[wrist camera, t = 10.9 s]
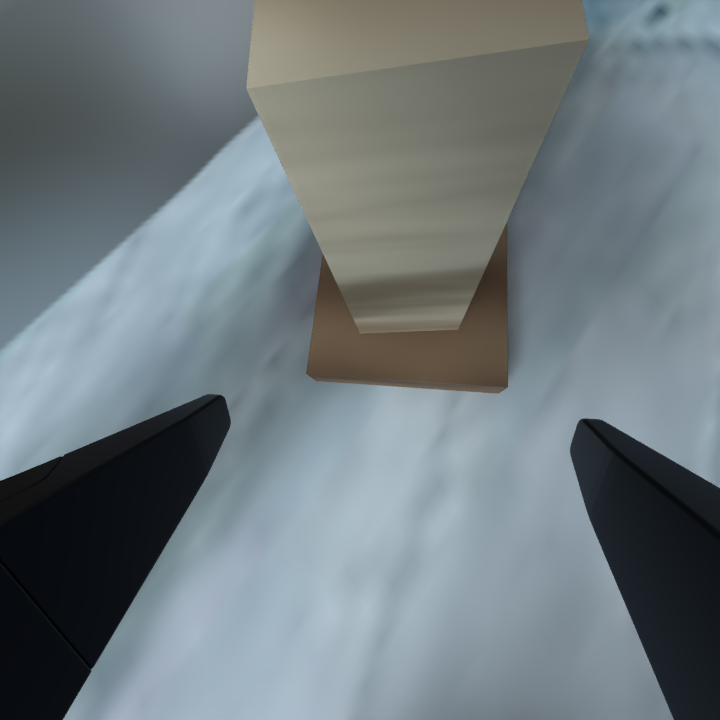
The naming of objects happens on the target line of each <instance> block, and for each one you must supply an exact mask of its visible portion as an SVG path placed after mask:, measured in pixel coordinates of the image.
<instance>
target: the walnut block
mask: <svg viewBox="0 0 720 720" xmlns="http://www.w3.org/2000/svg"><path fill="white" fill-rule="evenodd" d="M306 374H307V375H309V376H310V377H312V378H313V379H314V380H316V381H325V382H340V383H354V384H369V385H383V386H398V387H412V388H427V389H441V390H456V391H471V392H485V393H500V392H501V391H503V390H504V389H506V388H507V387H508V341H507V223H506V225H505V227H504V229H503V231H502V234H501V236H500V238H499V240H498V242H497V245H496V247H495V249H494V251H493V253H492V256H491V258H490V260H489V262H488V265H487V267H486V269H485V271H484V273H483V276H482V278H481V280H480V282H479V284H478V287H477V289H476V291H475V293H474V296H473V298H472V300H471V302H470V304H469V307H468V309H467V311H466V313H465V315H464V318H463V320H462V322H461V324H460V326H459V329H458V330H439V331H413V332H388V333H362V334H360V332H359V330H358V328H357V326H356V324H355V322H354V319H353V317H352V315H351V313H350V311H349V309H348V306H347V304H346V302H345V300H344V298H343V296H342V294H341V291H340V289H339V287H338V285H337V283H336V281H335V278H334V276H333V274H332V272H331V270H330V268H329V266H328V263H327V261H326V259H325V257H324V255H323V256H322V264H321V271H320V278H319V285H318V293H317V300H316V307H315V314H314V322H313V329H312V336H311V343H310V351H309V358H308V365H307V372H306Z"/></svg>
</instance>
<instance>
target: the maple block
mask: <svg viewBox="0 0 720 720" xmlns="http://www.w3.org/2000/svg"><path fill="white" fill-rule="evenodd" d="M588 41H589V35H588V30H587V25H586V19H585V14H584V9H583V4H582V0H255V5H254V16H253V26H252V36H251V47H250V56H249V57H250V58H249V67H248V77H247V88H246V89H247V91H248V93H249V95H250V97H251V100H252V101H253V104H254V106H255V108H256V110H257V113H258V115H259V117H260V119H261V121H262V123H263V125H264V128H265V130H266V132H267V134H268V136H269V138H270V141H271V143H272V145H273V147H274V149H275V151H276V153H277V156H278V158H279V160H280V162H281V164H282V166H283V169H284V171H285V173H286V175H287V177H288V179H289V181H290V184H291V186H292V188H293V190H294V192H295V194H296V197H297V199H298V201H299V203H300V205H301V207H302V209H303V212H304V214H305V216H306V218H307V220H308V222H309V225H310V227H311V229H312V231H313V233H314V235H315V238H316V240H317V242H318V244H319V246H320V248H321V250H322V253H323V255H324V257H325V259H326V261H327V263H328V266H329V268H330V270H331V272H332V274H333V276H334V278H335V281H336V283H337V285H338V287H339V289H340V291H341V294H342V296H343V298H344V300H345V302H346V304H347V306H348V309H349V311H350V313H351V315H352V317H353V319H354V322H355V324H356V326H357V328H358V330H359V332H360V334H362V333H388V332H413V331H439V330H458V329H459V326H460V324H461V322H462V320H463V318H464V315H465V313H466V311H467V309H468V307H469V304H470V302H471V300H472V298H473V296H474V293H475V291H476V289H477V287H478V284H479V282H480V280H481V278H482V276H483V273H484V271H485V269H486V267H487V265H488V262H489V260H490V258H491V256H492V253H493V251H494V249H495V247H496V245H497V242H498V240H499V238H500V236H501V234H502V231H503V229H504V227H505V225H506V223H507V220H508V218H509V216H510V214H511V211H512V209H513V207H514V205H515V203H516V200H517V198H518V196H519V194H520V192H521V189H522V187H523V185H524V183H525V180H526V178H527V176H528V174H529V172H530V169H531V167H532V165H533V163H534V161H535V158H536V156H537V154H538V152H539V150H540V147H541V145H542V143H543V141H544V138H545V136H546V134H547V132H548V130H549V127H550V125H551V123H552V121H553V119H554V116H555V114H556V112H557V110H558V108H559V105H560V103H561V101H562V99H563V96H564V94H565V92H566V90H567V88H568V85H569V83H570V81H571V79H572V77H573V74H574V72H575V70H576V68H577V65H578V63H579V61H580V59H581V57H582V54H583V52H584V50H585V48H586V46H587V43H588Z"/></svg>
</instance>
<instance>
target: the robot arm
mask: <svg viewBox="0 0 720 720" xmlns="http://www.w3.org/2000/svg"><path fill="white" fill-rule="evenodd" d="M230 423H231V420H230V415H229V411H228V408H227V404H226V400H225V398H224V397H223V396H222V395H215V394H207V395H205V396H202V397H200V398H198V399H195V400H193V401H191V402H188V403H186V404H183V405H181V406H179V407H176V408H174V409H172V410H169V411H167V412H164V413H162V414H160V415H157V416H155V417H153V418H150V419H148V420H146V421H143V422H141V423H138V424H136V425H134V426H131V427H129V428H127V429H124V430H122V431H119V432H117V433H115V434H112V435H110V436H108V437H105V438H103V439H100V440H98V441H96V442H93V443H91V444H89V445H86V446H84V447H82V448H79V449H77V450H74V451H72V452H70V453H67V454H65V455H64V456H63V457H58V458H55V459H53V460H51V461H48V462H46V463H43V464H41V465H39V466H36V467H34V468H31V469H29V470H26V471H24V472H22V473H19V474H17V475H14V476H12V477H9V478H7V479H4V480H1V481H0V720H63V718H64V717H65V715H66V713H67V712H68V710H69V708H70V707H71V705H72V703H73V702H74V700H75V698H76V696H77V695H78V693H79V691H80V690H81V688H82V686H83V685H84V683H85V681H86V680H87V678H88V676H89V675H90V673H91V669H92V668H93V667H94V666H95V664H96V662H97V661H98V659H99V657H100V656H101V654H102V652H103V651H104V649H105V647H106V645H107V644H108V642H109V640H110V639H111V637H112V635H113V634H114V632H115V630H116V629H117V627H118V625H119V624H120V622H121V620H122V619H123V617H124V615H125V613H126V612H127V610H128V608H129V607H130V605H131V603H132V602H133V600H134V598H135V597H136V595H137V593H138V592H139V590H140V588H141V587H142V585H143V583H144V581H145V580H146V578H147V576H148V575H149V573H150V571H151V570H152V568H153V566H154V565H155V563H156V561H157V560H158V558H159V556H160V555H161V553H162V551H163V549H164V548H165V546H166V544H167V543H168V541H169V539H170V538H171V536H172V534H173V533H174V531H175V529H176V528H177V526H178V524H179V523H180V521H181V519H182V517H183V516H184V514H185V512H186V511H187V509H188V507H189V506H190V504H191V502H192V501H193V499H194V497H195V496H196V494H197V492H198V491H199V489H200V487H201V485H202V484H203V482H204V480H205V478H206V477H207V475H208V473H209V471H210V469H211V467H212V465H213V463H214V460H215V458H216V456H217V454H218V452H219V450H220V447H221V445H222V443H223V441H224V439H225V437H226V435H227V432H228V430H229V428H230ZM570 454H571V458H572V462H573V465H574V469H575V472H576V475H577V479H578V482H579V486H580V489H581V493H582V496H583V499H584V503H585V506H586V509H587V513H588V516H589V518H590V521H591V523H592V526H593V528H594V531H595V533H596V536H597V538H598V540H599V543H600V545H601V547H602V550H603V552H604V555H605V557H606V559H607V562H608V564H609V567H610V569H611V571H612V574H613V576H614V578H615V581H616V583H617V586H618V588H619V590H620V593H621V595H622V597H623V600H624V602H625V605H626V607H627V609H628V612H629V614H630V616H631V619H632V621H633V624H634V626H635V628H636V631H637V633H638V635H639V638H640V640H641V643H642V645H643V647H644V650H645V652H646V654H647V657H648V659H649V662H650V664H651V666H652V669H653V671H654V674H655V676H656V678H657V681H658V683H659V685H660V688H661V690H662V693H663V695H664V697H665V700H666V702H667V704H668V707H669V709H670V712H671V714H672V716H673V719H674V720H720V488H719V487H717V486H715V485H713V484H712V483H710V482H708V481H707V480H705V479H703V478H701V477H700V476H698V475H696V474H694V473H693V472H691V471H689V470H687V469H686V468H684V467H682V466H681V465H679V464H677V463H675V462H674V461H672V460H670V459H668V458H667V457H665V456H663V455H662V454H660V453H658V452H656V451H655V450H653V449H651V448H649V447H648V446H646V445H644V444H642V443H641V442H639V441H637V440H636V439H634V438H632V437H630V436H629V435H627V434H625V433H623V432H622V431H620V430H618V429H616V428H615V427H613V426H611V425H610V424H608V423H606V422H604V421H603V420H599V419H581V420H580V421H579V422H578V424H577V427H576V430H575V433H574V437H573V440H572V443H571V447H570Z"/></svg>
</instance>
